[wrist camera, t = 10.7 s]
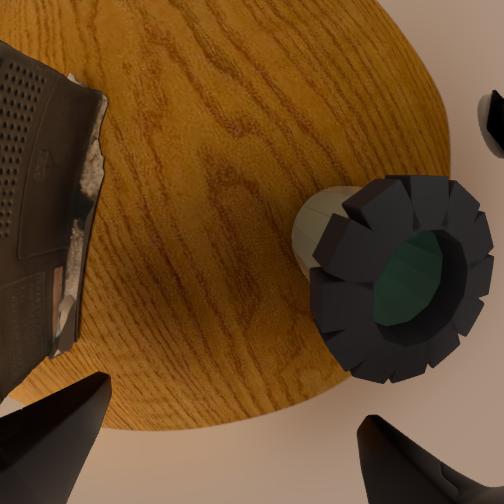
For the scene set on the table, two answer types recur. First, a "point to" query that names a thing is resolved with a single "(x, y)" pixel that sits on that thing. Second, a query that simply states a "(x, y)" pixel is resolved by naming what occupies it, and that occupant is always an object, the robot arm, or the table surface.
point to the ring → (374, 261)
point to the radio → (43, 208)
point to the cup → (396, 270)
